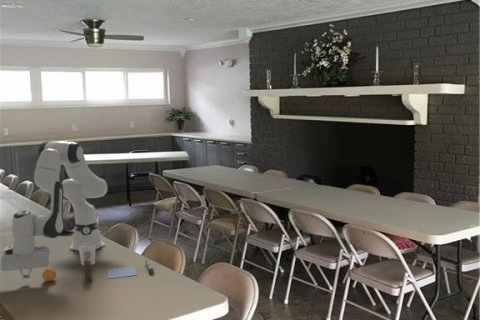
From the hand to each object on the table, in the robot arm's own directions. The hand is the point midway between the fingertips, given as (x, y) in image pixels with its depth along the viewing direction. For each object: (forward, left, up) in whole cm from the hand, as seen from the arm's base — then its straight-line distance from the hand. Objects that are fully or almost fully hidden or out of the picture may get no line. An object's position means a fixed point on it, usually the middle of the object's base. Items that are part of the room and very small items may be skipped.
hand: (26, 278), depth 232 cm
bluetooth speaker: (-96, +8, -3) cm, 96 cm away
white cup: (-20, +27, -3) cm, 34 cm away
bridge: (0, +27, -3) cm, 27 cm away
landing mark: (0, +42, -3) cm, 42 cm away
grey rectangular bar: (0, +55, -3) cm, 55 cm away
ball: (0, +10, 0) cm, 10 cm away
